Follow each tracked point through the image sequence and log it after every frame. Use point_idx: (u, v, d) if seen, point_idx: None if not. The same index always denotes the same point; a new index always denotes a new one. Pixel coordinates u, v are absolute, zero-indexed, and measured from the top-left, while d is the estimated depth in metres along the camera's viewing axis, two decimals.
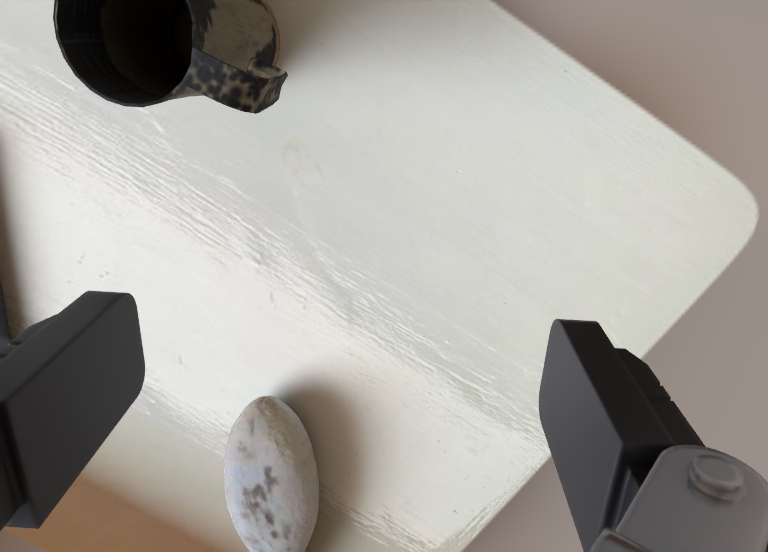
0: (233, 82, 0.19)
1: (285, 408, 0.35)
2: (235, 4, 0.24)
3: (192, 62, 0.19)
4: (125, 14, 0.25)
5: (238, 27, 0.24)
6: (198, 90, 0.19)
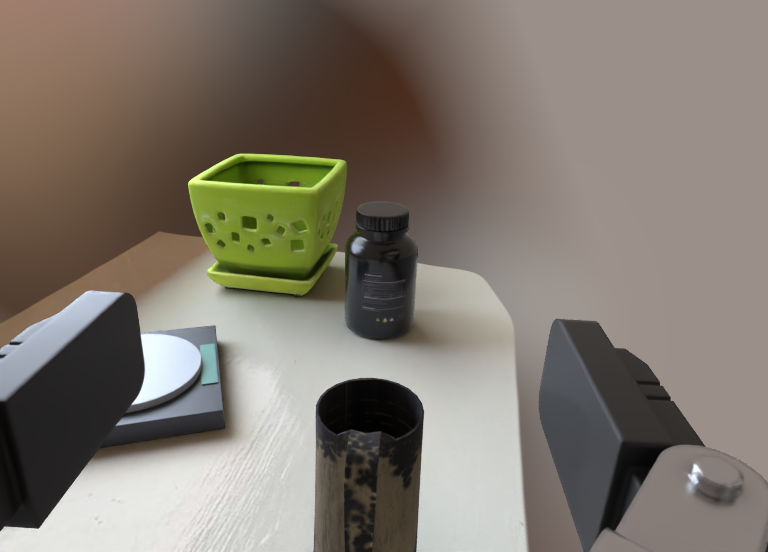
0: (367, 455, 0.22)
1: None
2: (406, 532, 0.28)
3: (369, 433, 0.24)
4: None
5: (390, 531, 0.27)
6: (350, 436, 0.23)
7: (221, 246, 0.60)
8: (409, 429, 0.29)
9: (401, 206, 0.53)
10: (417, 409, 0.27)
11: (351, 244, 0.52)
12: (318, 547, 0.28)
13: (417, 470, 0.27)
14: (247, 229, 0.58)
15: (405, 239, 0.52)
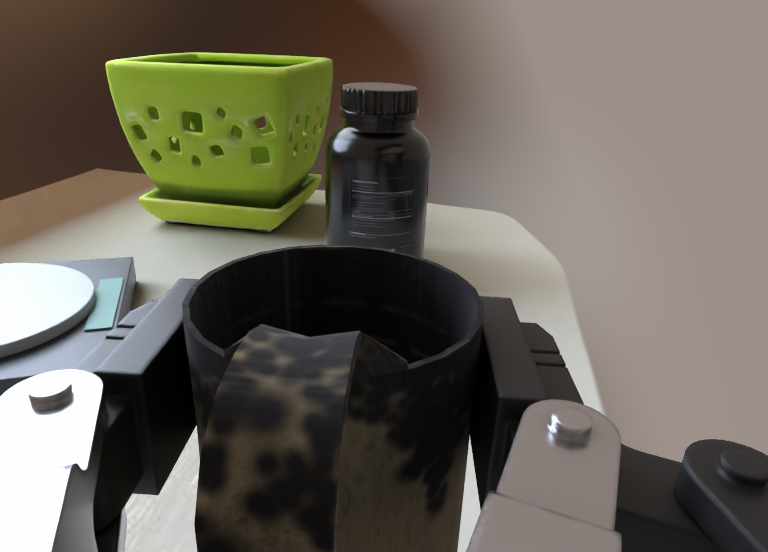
0: (301, 396, 0.06)
1: None
2: None
3: (320, 337, 0.07)
4: None
5: None
6: (250, 339, 0.06)
7: (156, 160, 0.43)
8: None
9: (407, 86, 0.36)
10: (460, 308, 0.11)
11: (333, 138, 0.35)
12: None
13: (462, 466, 0.10)
14: (190, 132, 0.41)
15: (413, 132, 0.36)
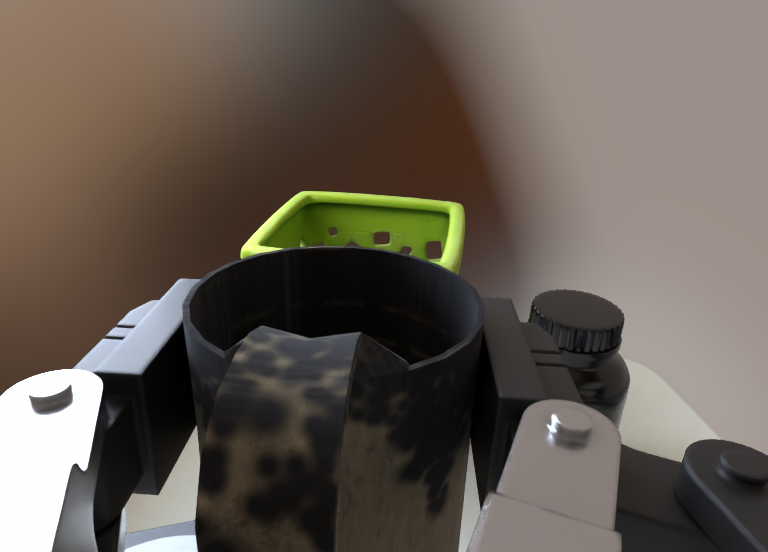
0: (301, 397, 0.06)
1: None
2: None
3: (321, 338, 0.07)
4: None
5: None
6: (250, 340, 0.06)
7: None
8: None
9: (603, 301, 0.32)
10: (460, 309, 0.11)
11: None
12: None
13: (463, 467, 0.10)
14: None
15: (615, 359, 0.31)
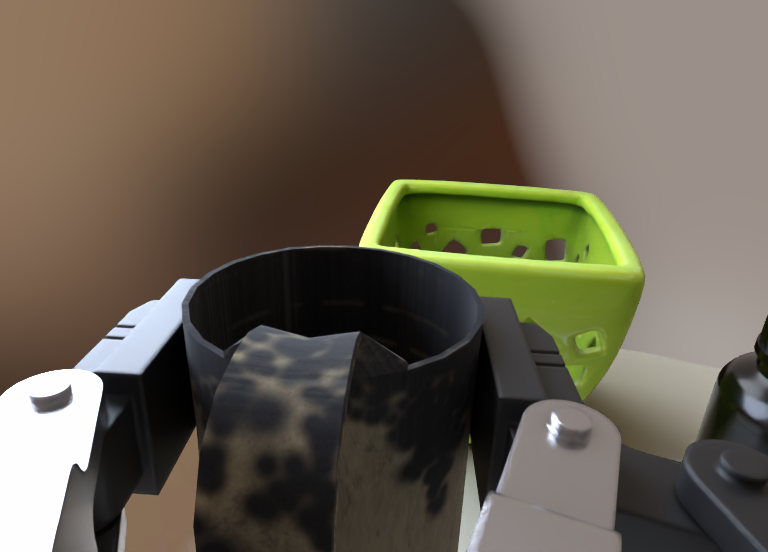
0: (299, 397, 0.06)
1: None
2: None
3: (320, 337, 0.07)
4: None
5: None
6: (249, 339, 0.06)
7: None
8: None
9: None
10: (460, 309, 0.11)
11: (764, 408, 0.23)
12: None
13: (463, 467, 0.10)
14: None
15: None
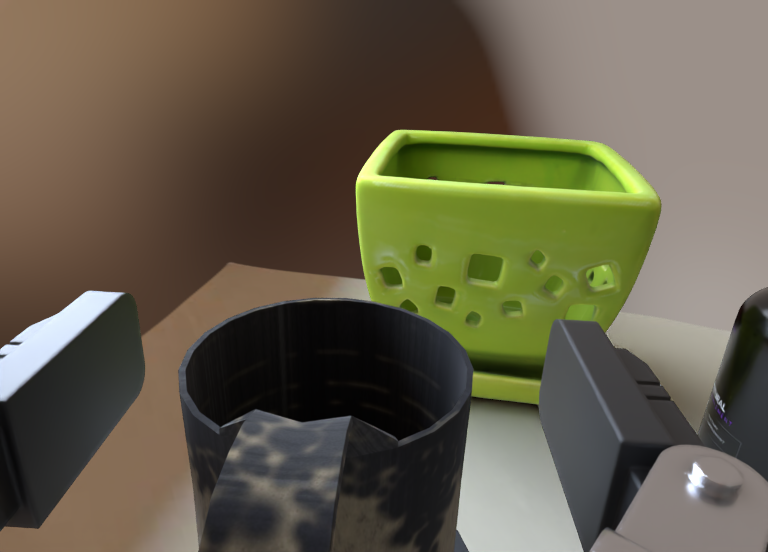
0: (292, 502, 0.06)
1: None
2: None
3: (312, 423, 0.07)
4: None
5: None
6: (244, 432, 0.07)
7: None
8: (428, 419, 0.12)
9: None
10: (451, 366, 0.11)
11: None
12: None
13: (453, 523, 0.10)
14: (476, 281, 0.27)
15: None
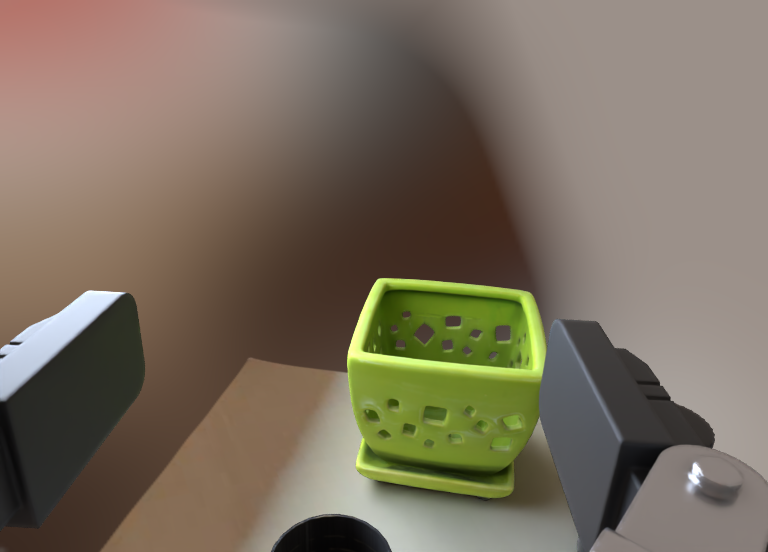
0: None
1: None
2: None
3: None
4: None
5: None
6: None
7: (383, 436, 0.42)
8: None
9: (691, 414, 0.35)
10: None
11: None
12: None
13: None
14: (429, 421, 0.40)
15: None
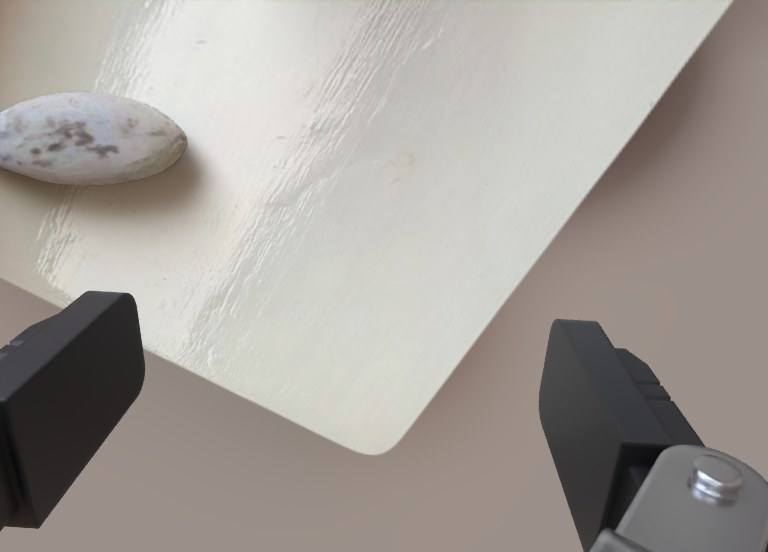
0: None
1: None
2: None
3: None
4: None
5: None
6: None
7: None
8: None
9: None
10: None
11: None
12: None
13: None
14: None
15: None
